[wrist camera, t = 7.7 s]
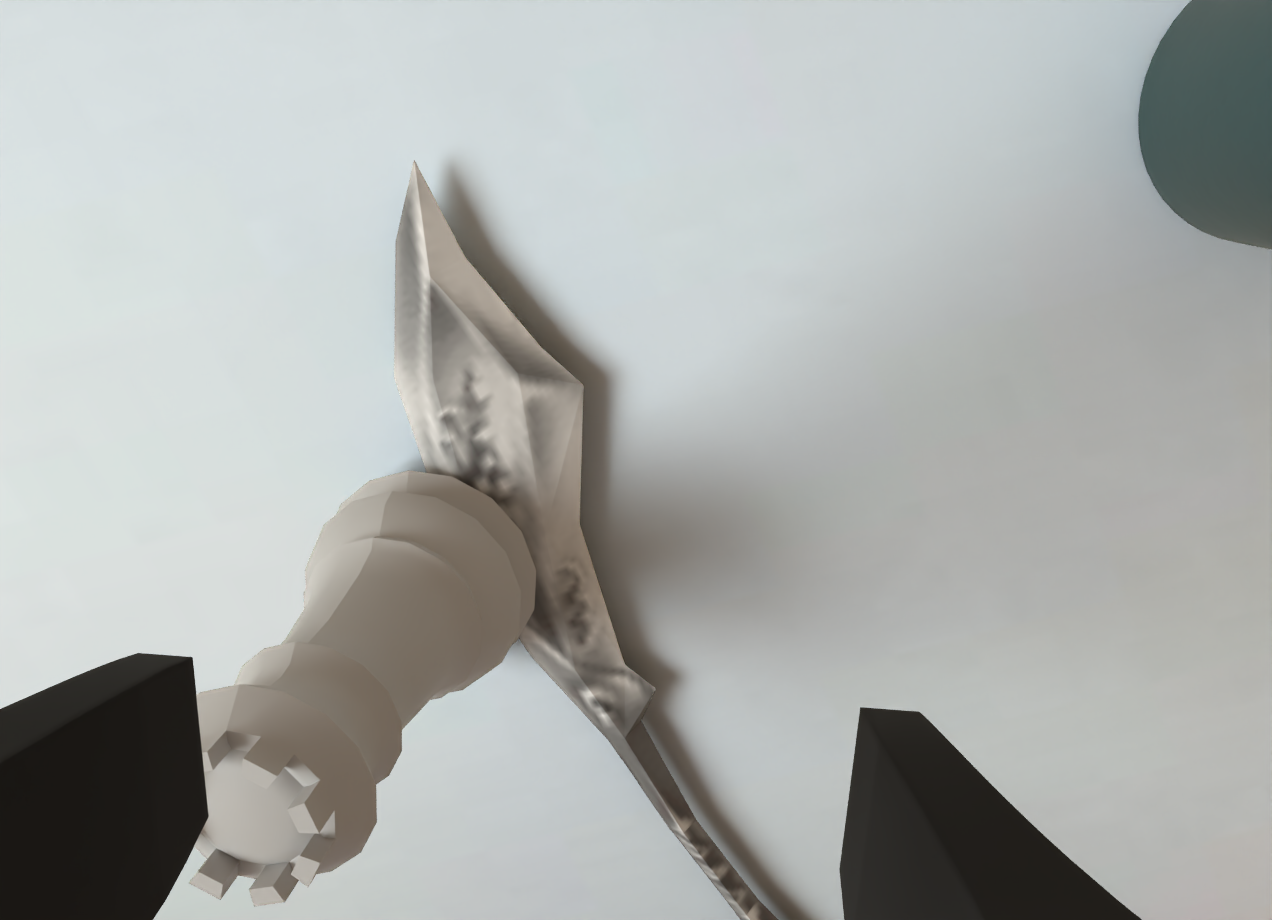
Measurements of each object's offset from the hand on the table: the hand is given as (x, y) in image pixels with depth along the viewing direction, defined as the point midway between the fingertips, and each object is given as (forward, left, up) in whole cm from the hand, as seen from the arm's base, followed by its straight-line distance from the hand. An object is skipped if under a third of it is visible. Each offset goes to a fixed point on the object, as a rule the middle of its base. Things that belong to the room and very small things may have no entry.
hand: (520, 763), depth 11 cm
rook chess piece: (-2, +3, -10) cm, 11 cm away
